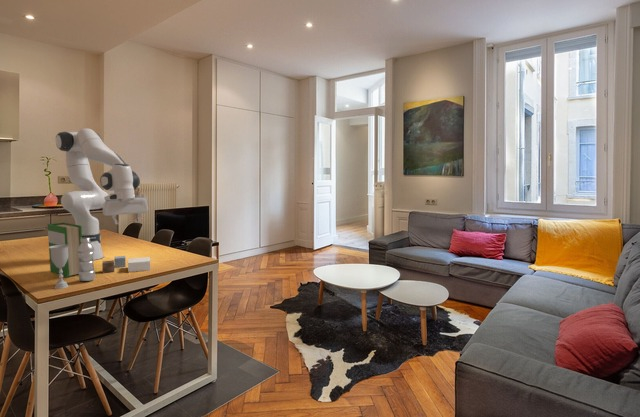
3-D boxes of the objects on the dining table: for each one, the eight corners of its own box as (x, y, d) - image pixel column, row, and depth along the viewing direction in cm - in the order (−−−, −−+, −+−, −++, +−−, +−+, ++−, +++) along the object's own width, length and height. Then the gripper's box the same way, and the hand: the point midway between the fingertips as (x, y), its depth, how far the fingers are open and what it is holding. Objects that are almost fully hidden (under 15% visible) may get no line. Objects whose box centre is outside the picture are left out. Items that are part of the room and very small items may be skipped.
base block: (128, 272, 184) (127, 263, 184) (129, 267, 193) (129, 258, 193) (150, 270, 189) (150, 261, 188) (150, 266, 198) (150, 257, 197)
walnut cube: (102, 273, 182) (102, 263, 182) (103, 270, 186) (102, 261, 186) (114, 272, 184) (113, 262, 184) (114, 269, 189) (114, 260, 188)
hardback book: (84, 274, 180) (81, 225, 177) (67, 277, 174) (64, 227, 171) (67, 268, 189) (64, 222, 187) (50, 272, 183) (47, 224, 181)
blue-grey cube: (114, 268, 192) (114, 258, 192) (115, 265, 197) (114, 256, 196) (125, 266, 195) (125, 257, 194) (125, 264, 199) (125, 255, 199)
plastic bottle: (83, 278, 172) (81, 236, 170) (98, 278, 173) (96, 236, 171) (75, 283, 166) (73, 239, 164) (91, 282, 166) (89, 239, 164)
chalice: (67, 283, 165) (65, 244, 163) (74, 286, 161) (72, 245, 159) (48, 287, 159) (45, 246, 157) (55, 290, 155) (52, 248, 153)
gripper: (144, 194, 193) (147, 221, 193) (100, 197, 180) (103, 225, 180) (148, 194, 188) (151, 221, 189) (103, 196, 175) (106, 225, 175)
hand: (127, 223), depth 184 cm, fingers open, 8 cm apart
